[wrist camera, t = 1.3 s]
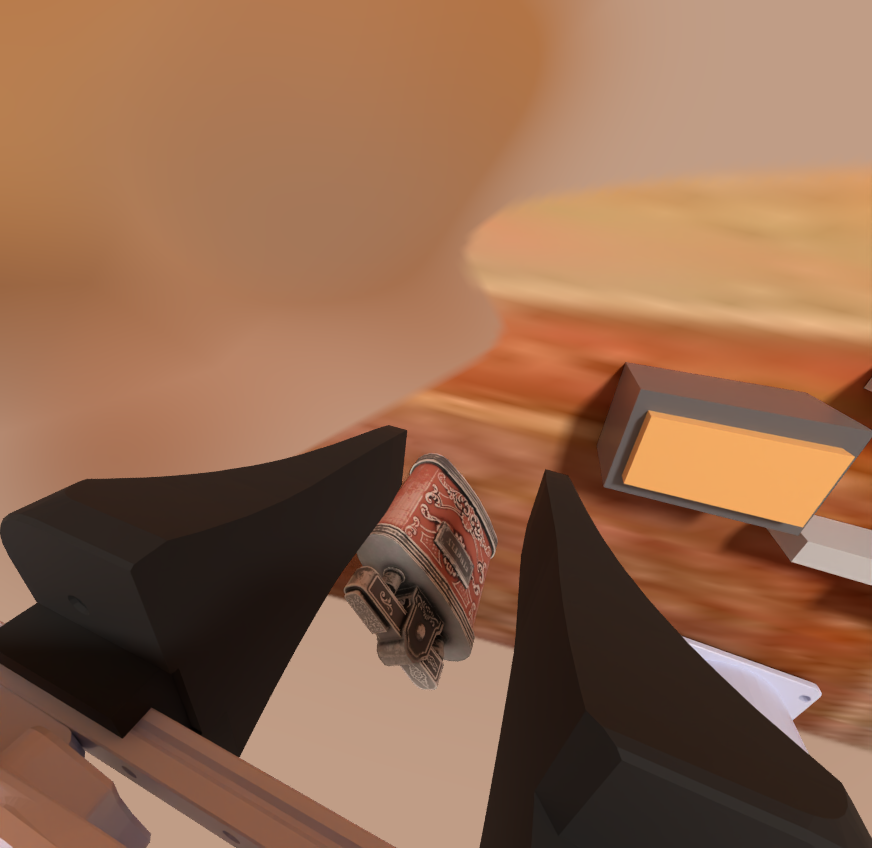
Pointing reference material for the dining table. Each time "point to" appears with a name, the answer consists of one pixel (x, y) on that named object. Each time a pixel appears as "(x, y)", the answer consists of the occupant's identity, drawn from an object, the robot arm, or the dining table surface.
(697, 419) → the grey box orange face
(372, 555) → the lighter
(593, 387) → the dining table surface
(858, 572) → the deck
